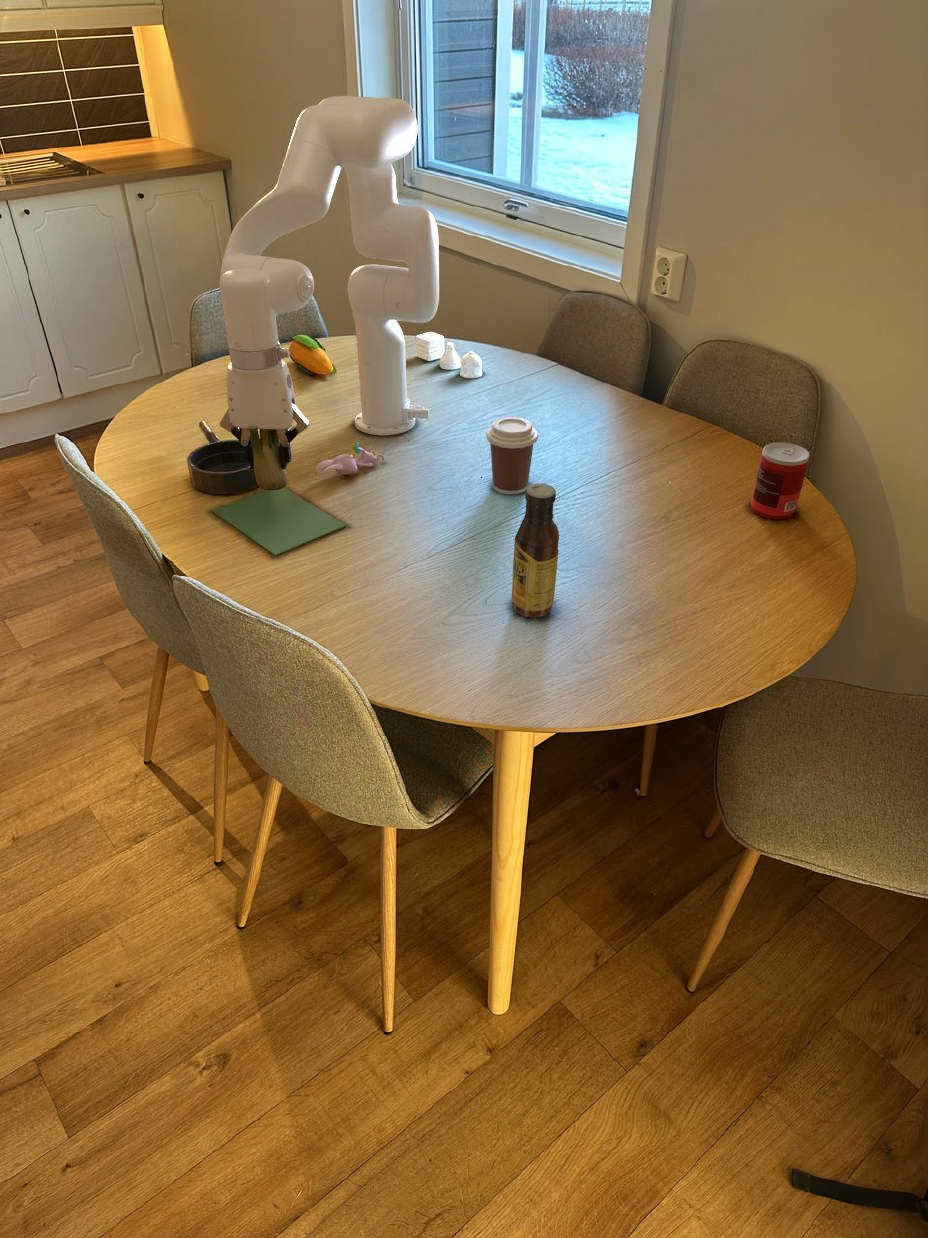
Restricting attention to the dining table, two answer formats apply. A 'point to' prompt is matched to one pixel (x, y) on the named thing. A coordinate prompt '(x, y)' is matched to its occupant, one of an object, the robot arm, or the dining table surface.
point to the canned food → (779, 480)
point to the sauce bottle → (536, 554)
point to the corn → (310, 355)
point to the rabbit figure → (350, 461)
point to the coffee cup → (511, 453)
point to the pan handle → (208, 432)
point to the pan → (221, 468)
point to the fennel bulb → (267, 459)
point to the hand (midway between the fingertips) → (269, 464)
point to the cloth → (278, 520)
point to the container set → (447, 355)
